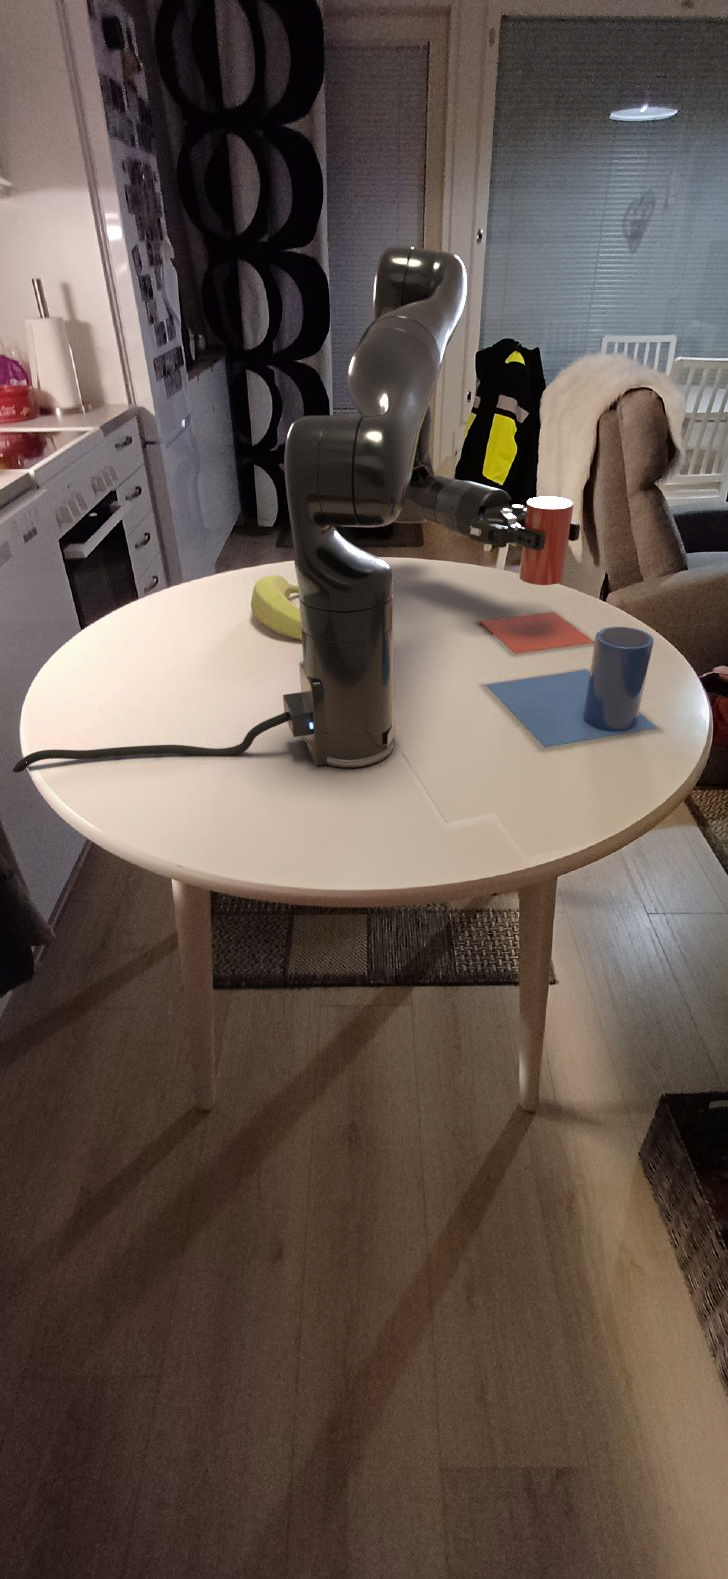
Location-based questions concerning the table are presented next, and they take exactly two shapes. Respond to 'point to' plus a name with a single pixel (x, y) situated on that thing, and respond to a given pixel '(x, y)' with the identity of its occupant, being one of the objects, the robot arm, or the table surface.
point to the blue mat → (555, 708)
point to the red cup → (547, 540)
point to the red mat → (535, 632)
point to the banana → (276, 606)
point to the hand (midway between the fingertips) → (560, 537)
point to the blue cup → (617, 678)
